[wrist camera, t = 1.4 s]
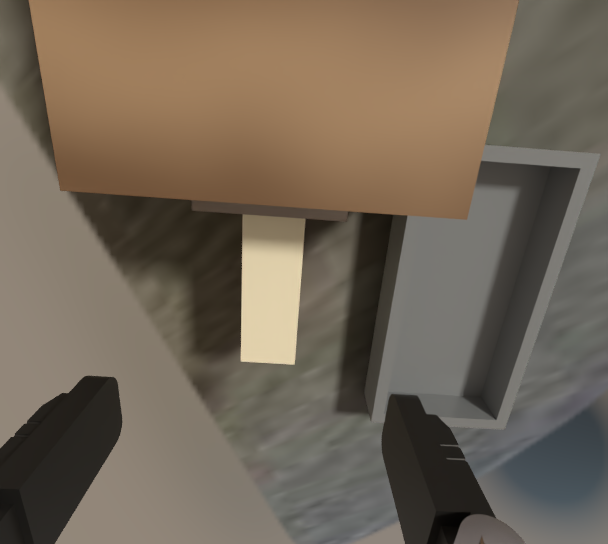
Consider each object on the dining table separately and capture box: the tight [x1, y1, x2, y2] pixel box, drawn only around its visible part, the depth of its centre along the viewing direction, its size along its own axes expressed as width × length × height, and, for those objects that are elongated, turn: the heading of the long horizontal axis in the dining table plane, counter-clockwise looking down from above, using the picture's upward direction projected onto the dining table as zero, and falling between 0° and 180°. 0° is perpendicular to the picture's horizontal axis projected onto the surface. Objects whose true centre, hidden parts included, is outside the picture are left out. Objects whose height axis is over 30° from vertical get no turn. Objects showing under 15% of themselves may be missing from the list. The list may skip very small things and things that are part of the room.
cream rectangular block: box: [241, 214, 305, 365], centre depth 17 cm, size 12×3×6 cm, turn 176°
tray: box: [364, 145, 601, 430], centre depth 21 cm, size 16×8×3 cm, turn 176°
